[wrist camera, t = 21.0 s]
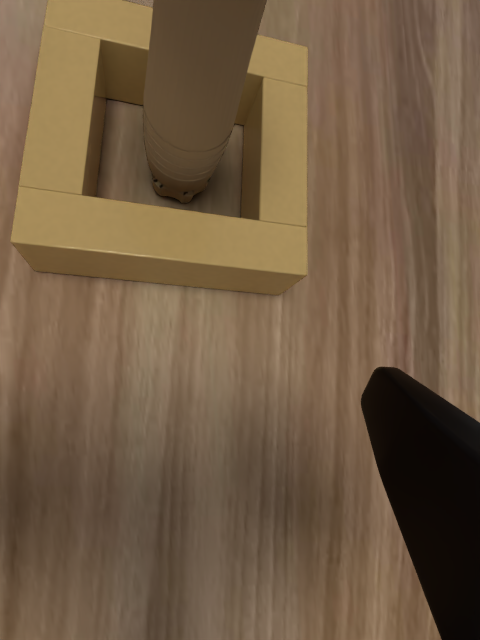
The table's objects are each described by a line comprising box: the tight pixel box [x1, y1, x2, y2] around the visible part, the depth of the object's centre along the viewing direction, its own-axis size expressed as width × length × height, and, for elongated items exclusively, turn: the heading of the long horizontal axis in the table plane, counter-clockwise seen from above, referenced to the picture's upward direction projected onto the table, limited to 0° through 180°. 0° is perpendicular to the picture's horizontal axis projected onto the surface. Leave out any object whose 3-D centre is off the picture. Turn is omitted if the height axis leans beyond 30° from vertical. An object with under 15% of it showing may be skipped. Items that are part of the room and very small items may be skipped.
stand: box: [10, 0, 308, 295], centre depth 21 cm, size 13×13×4 cm
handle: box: [143, 0, 267, 203], centre depth 16 cm, size 5×6×15 cm
